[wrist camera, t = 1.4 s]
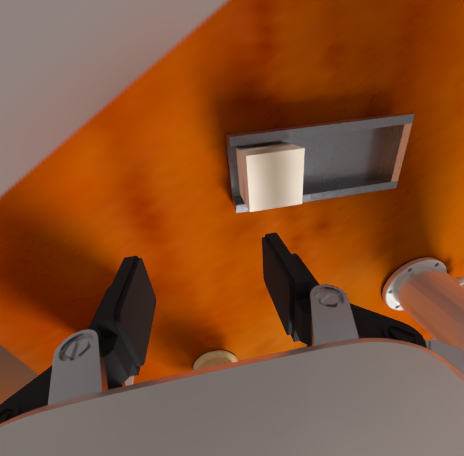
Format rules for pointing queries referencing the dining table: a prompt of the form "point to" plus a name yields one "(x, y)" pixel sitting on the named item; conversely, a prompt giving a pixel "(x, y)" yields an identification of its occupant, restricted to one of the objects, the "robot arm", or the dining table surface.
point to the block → (270, 175)
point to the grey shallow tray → (335, 155)
